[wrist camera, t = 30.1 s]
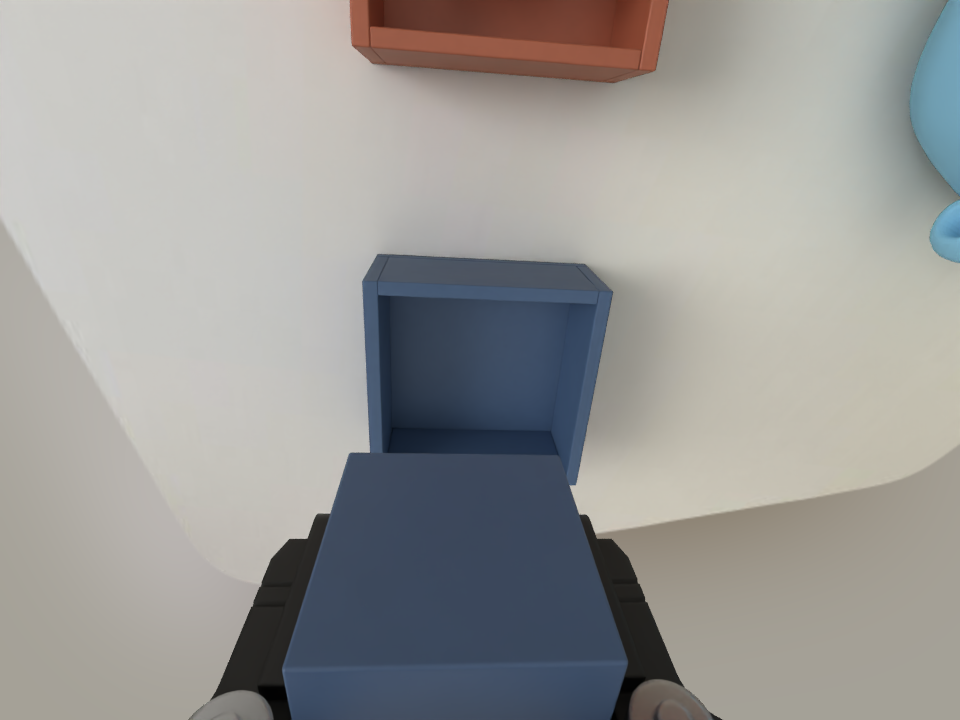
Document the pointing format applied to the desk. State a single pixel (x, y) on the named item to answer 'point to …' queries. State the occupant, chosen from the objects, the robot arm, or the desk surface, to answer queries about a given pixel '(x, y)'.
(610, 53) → the terracotta bin
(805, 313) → the desk surface
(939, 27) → the decorative pot
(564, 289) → the slate bin
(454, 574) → the slate block
